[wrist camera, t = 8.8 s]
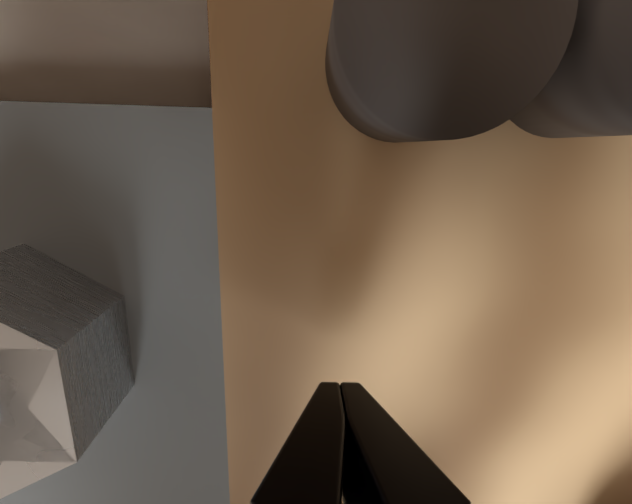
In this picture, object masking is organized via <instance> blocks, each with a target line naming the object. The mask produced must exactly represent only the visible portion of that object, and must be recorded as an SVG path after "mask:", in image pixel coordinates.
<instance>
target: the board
mask: <svg viewBox="0 0 632 504" xmlns="http://www.w3.org/2000/svg"><path fill="white" fill-rule="evenodd" d="M207 10H208V32H209V54H210V76H211V98H212V120H213V142H214V164H215V186H216V208H217V229H218V251H219V273H220V295H221V317H222V339H223V361H224V383H225V405H226V427H227V449H228V471H229V493H230V504H250V501H251V499H252V497H253V495H254V494H255V492H256V490H257V488H258V487H259V485H260V483H261V482H262V480H263V478H264V477H265V475H266V473H267V471H268V470H269V468H270V466H271V465H272V463H273V461H274V460H275V458H276V456H277V454H278V453H279V451H280V449H281V448H282V446H283V444H284V443H285V441H286V439H287V437H288V436H289V434H290V432H291V431H292V429H293V427H294V426H295V424H296V422H297V420H298V419H299V417H300V415H301V414H302V412H303V410H304V409H305V407H306V405H307V403H308V402H309V400H310V398H311V397H312V395H313V393H314V392H315V390H316V388H317V386H318V385H319V383H321V382H338V383H339V384H341V383H342V382H358V383H360V384H361V385H362V386H363V387H364V388H365V389H366V390H367V391H368V392H369V393H370V394H371V395H372V396H373V397H374V399H375V400H376V401H377V402H378V403H379V404H380V405H381V406H382V407H383V408H384V409H385V410H386V411H387V412H388V414H389V415H390V416H391V417H392V418H393V419H394V420H395V421H396V422H397V423H398V424H399V425H400V426H401V427H402V429H403V430H404V431H405V432H406V433H407V434H408V435H409V436H410V437H411V438H412V439H413V440H414V441H415V442H416V444H417V445H418V446H419V447H420V448H421V449H422V450H423V451H424V452H425V453H426V454H427V455H428V456H429V457H430V459H431V460H432V461H433V462H434V463H435V464H436V465H437V466H438V467H439V468H440V469H441V470H442V471H443V472H444V473H445V475H446V476H447V477H448V478H449V479H450V480H451V481H452V482H453V483H454V484H455V485H456V486H457V487H458V488H459V490H460V491H461V492H462V493H463V494H464V495H465V496H466V497H467V498H468V499H469V500H470V501H471V504H632V0H207ZM342 504H343V501H342Z"/></svg>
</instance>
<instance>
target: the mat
mask: <svg viewBox="0 0 632 504" xmlns="http://www.w3.org/2000/svg"><path fill="white" fill-rule="evenodd" d="M24 243H25V244H27V245H28V246H30V247H32V248H34V249H36V250H38V251H40V252H42V253H44V254H46V255H47V256H49V257H51V258H53V259H55V260H57V261H59V262H61V263H63V264H65V265H66V266H68V267H70V268H72V269H74V270H76V271H78V272H80V273H82V274H84V275H85V276H87V277H89V278H91V279H93V280H95V281H97V282H99V283H101V284H103V285H104V286H106V287H108V288H110V289H112V290H114V291H116V292H118V293H120V294H122V295H123V296H124V297H125V305H126V314H127V323H128V331H129V340H130V349H131V357H132V366H133V375H134V383H135V385H134V386H133V387H132V389H131V390H130V391H129V393H128V394H127V395H126V397H125V398H124V400H123V401H122V402H121V404H120V405H119V406H118V408H117V409H116V410H115V412H114V413H113V414H112V416H111V417H110V418H109V420H108V421H107V422H106V424H105V425H104V426H103V428H102V429H101V430H100V432H99V433H98V435H97V436H96V437H95V439H94V440H93V441H92V443H91V444H90V445H89V447H88V448H87V449H86V451H85V452H84V453H83V455H82V456H81V457H80V459H79V460H78V461H77V463H74V464H72V465H70V466H68V467H66V468H64V469H62V470H60V471H58V472H56V473H54V474H51V475H49V476H47V477H45V478H43V479H41V480H39V481H37V482H35V483H33V484H30V485H28V486H26V487H24V488H22V489H20V490H18V491H16V492H14V493H12V494H10V495H7V496H5V497H3V498H1V499H0V504H230V493H229V471H228V449H227V427H226V405H225V383H224V361H223V339H222V317H221V295H220V273H219V251H218V229H217V208H216V186H215V164H214V142H213V120H212V108H204V107H174V106H143V105H113V104H83V103H53V102H22V101H0V251H3V250H6V249H9V248H12V247H15V246H18V245H21V244H24Z"/></svg>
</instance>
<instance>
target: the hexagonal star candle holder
mask: <svg viewBox="0 0 632 504" xmlns="http://www.w3.org/2000/svg"><path fill="white" fill-rule="evenodd" d="M134 385H135V383H134V375H133V366H132V357H131V349H130V340H129V331H128V323H127V314H126V305H125V297H124V296H123V295H122V294H120V293H118V292H116V291H114V290H112V289H110V288H108V287H106V286H104V285H103V284H101V283H99V282H97V281H95V280H93V279H91V278H89V277H87V276H85V275H84V274H82V273H80V272H78V271H76V270H74V269H72V268H70V267H68V266H66V265H65V264H63V263H61V262H59V261H57V260H55V259H53V258H51V257H49V256H47V255H46V254H44V253H42V252H40V251H38V250H36V249H34V248H32V247H30V246H28V245H27V244H25V243H24V244H21V245H18V246H15V247H12V248H9V249H6V250H3V251H0V499H1V498H3V497H5V496H7V495H10V494H12V493H14V492H16V491H18V490H20V489H22V488H24V487H26V486H28V485H30V484H33V483H35V482H37V481H39V480H41V479H43V478H45V477H47V476H49V475H51V474H54V473H56V472H58V471H60V470H62V469H64V468H66V467H68V466H70V465H72V464H74V463H77V461H78V460H79V459H80V457H81V456H82V455H83V453H84V452H85V451H86V449H87V448H88V447H89V445H90V444H91V443H92V441H93V440H94V439H95V437H96V436H97V435H98V433H99V432H100V430H101V429H102V428H103V426H104V425H105V424H106V422H107V421H108V420H109V418H110V417H111V416H112V414H113V413H114V412H115V410H116V409H117V408H118V406H119V405H120V404H121V402H122V401H123V400H124V398H125V397H126V395H127V394H128V393H129V391H130V390H131V389H132V387H133V386H134Z"/></svg>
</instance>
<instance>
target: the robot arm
mask: <svg viewBox="0 0 632 504" xmlns="http://www.w3.org/2000/svg"><path fill="white" fill-rule="evenodd" d="M342 501H343V504H471V501H470V500H469V499H468V498H467V497H466V496H465V495H464V494H463V493H462V492H461V491H460V490H459V488H458V487H457V486H456V485H455V484H454V483H453V482H452V481H451V480H450V479H449V478H448V477H447V476H446V475H445V473H444V472H443V471H442V470H441V469H440V468H439V467H438V466H437V465H436V464H435V463H434V462H433V461H432V460H431V459H430V457H429V456H428V455H427V454H426V453H425V452H424V451H423V450H422V449H421V448H420V447H419V446H418V445H417V444H416V442H415V441H414V440H413V439H412V438H411V437H410V436H409V435H408V434H407V433H406V432H405V431H404V430H403V429H402V427H401V426H400V425H399V424H398V423H397V422H396V421H395V420H394V419H393V418H392V417H391V416H390V415H389V414H388V412H387V411H386V410H385V409H384V408H383V407H382V406H381V405H380V404H379V403H378V402H377V401H376V400H375V399H374V397H373V396H372V395H371V394H370V393H369V392H368V391H367V390H366V389H365V388H364V387H363V386H362V385H361V384H360V383H358V382H342V383H341V384H339V383H338V382H321V383H319V385H318V386H317V388H316V390H315V392H314V393H313V395H312V397H311V398H310V400H309V402H308V403H307V405H306V407H305V409H304V410H303V412H302V414H301V415H300V417H299V419H298V420H297V422H296V424H295V426H294V427H293V429H292V431H291V432H290V434H289V436H288V437H287V439H286V441H285V443H284V444H283V446H282V448H281V449H280V451H279V453H278V454H277V456H276V458H275V460H274V461H273V463H272V465H271V466H270V468H269V470H268V471H267V473H266V475H265V477H264V478H263V480H262V482H261V483H260V485H259V487H258V488H257V490H256V492H255V494H254V495H253V497H252V499H251V501H250V504H342Z"/></svg>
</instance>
